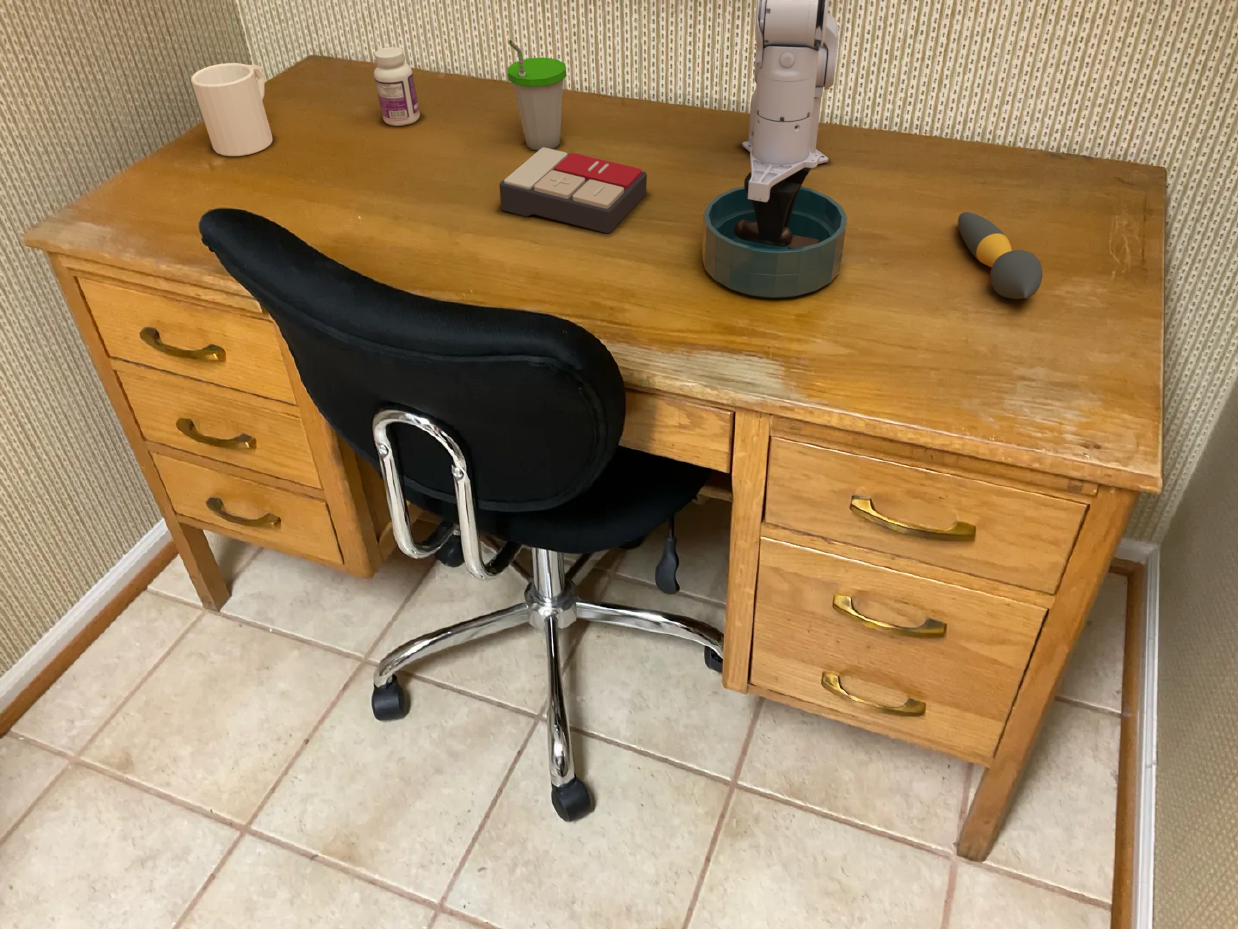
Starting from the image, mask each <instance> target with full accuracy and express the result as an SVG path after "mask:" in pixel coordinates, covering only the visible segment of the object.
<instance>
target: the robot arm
mask: <svg viewBox="0 0 1238 929" xmlns="http://www.w3.org/2000/svg"><path fill="white" fill-rule="evenodd" d="M829 4H830V0H756V9H755V23H754V36H755V46H756V49H755V57H754V72H753V73H754V74H753V79H754V81H753V82H754V83H755V84H756V87H755V89H754V91H753V93H752V95H751V99H750V112H749V126H748V140H747V141H743V142H742V145H741V146H742V147H743V148H744V149H745V150H747V151H748V152H749V165H750V172H748V174H747V175H746V176H745V178H744V181H743V186H744V188H745V190H746V192H747V193H748V199H751V201H752V204H753V207H754V210H755V215H756V220H757V226H758V231H759V235H760V238H761V239H766V240H771V241H776V242H777V241H778V240H779V239H780V237H781V234H782V232H783V228H784V227H787V226H788V223H789V221H790V218H791V215H792V211H793V208H794V205H795V201H796V198H797V195H798V193H799V190H800V188H801V187H803V183H804V182H805V179H806V178H807V177H808V175H809V173H810V172H811V170H812V169H814V168H816V167H817V166H818V165H821V164H824V163H828V162H829V157H828V156H826V155H825V153H824V154H823V152H821V151H819V150H818V149H817V142H818V133H819V124H820V115H821V106H822V97H823V95H824V90H826V91H827V90H830V88H832V87H833V86H834V82H835V75H836V66H837V59H838V58H837V56H838V49H839V48H838V47H839V30H840V29H839V28H840V27H839V25H838V21H837V20H836V18H835V17H834V16H833V15H831V14H830V13H829V7H830V6H829Z"/></svg>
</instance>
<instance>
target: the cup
mask: <svg viewBox="0 0 1238 929" xmlns="http://www.w3.org/2000/svg"><path fill="white" fill-rule="evenodd" d="M507 43H508V45H509V46H510V47H511V48H512V49H513V50H515V51H516V54H517V57H518V61H514V62H513V63H512V64H510V65H509V66H508V67H507V79H508V81H509V82H510V83H512V88H513V93H514V97H515V101H516V105H517V109H518V115H519V118H520V122H521V126H522V131H523V135H524V139H525V143H526V147H527V148H528V149H529V150H531V151H536V152H537V151H538V150H540V149H541V148H543V147H544V148H549V149H553V150H555V149H556V148H558V147H559V146H560V144H561V143H560V142H561V129H562V128H561V126H562V110H563V93H564V92H563V91H564V79H565V78H566V77H567V66H566V63H564V62H563V61H561V60H559V59H557V58H551V57H543V56H542V57H529V58H528V57H527V58H525V59H524V57H523V56H524V55H523V51H522V48H521V47H519V46H518V45H517V44H516V43H515V42H514V41H512V40H511V39H509V40H508V42H507Z"/></svg>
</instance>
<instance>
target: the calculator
mask: <svg viewBox="0 0 1238 929" xmlns="http://www.w3.org/2000/svg"><path fill="white" fill-rule="evenodd" d="M647 180H648V173H646V172H645V171H643V169H642V168H639V167H635V166H631V165H626V164H622V163H618V162H614V161H610V160H605V159H601V158H598V157H593V156H588V155H585V154H580V153H576V152H570V153H568V152H565V151H562V150H557V149H549V148H544V147H543V148H541V149H540V150H538V151H536V152H535V153H534V154H532V155H531V156H530V157H529V158H527V159H526V160H525V161H524V162H522V163H521V164H520V165H519V166H518V167H516V169H514V170H513V171H512V172H511V173H509V174H508V176H506V177H505V178H504V179H502V180H501V181H500V182H499V196H500V197H499V198H500V209H501V211H504V212H508V213H510V214H514V215H519V216H523V217H529V216H531V215H535V216H539V217H544V218H547V219H551V220H555V221H558V222H561V223H566V224H570V225H574V226H577V227H581V228H584V229H585V228H586V229H589V230H593V231H597V232H600V233H604V234H611V233H612V232H613V231H614V229H615V228H616V227H618V225H620V223H622V221H623V220H624V219H625V218H626V217H627V216H628V215H629V213H630V212H632V210H633V209H634V208H635V207H636V206H637V205H638V204H639V203H640V202H641V201H642V200H643V198H645V196H646V195H647V186H648V184H647V182H648V181H647Z"/></svg>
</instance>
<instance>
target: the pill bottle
mask: <svg viewBox="0 0 1238 929" xmlns="http://www.w3.org/2000/svg"><path fill="white" fill-rule="evenodd" d="M374 58H375V63H376V65H377V66H376V67H375V69H374V70H373V78H374V82H375V87H376V92H377V97H378V102H379V108H380V111H381V116H382V120H383V122H384V123H386V124H387V125H388V126H393V127H401V126H407V125H411V124H414V123H416V122H417V121H418V120H419V119H420V116H421V113H420V107H419V101H418V96H417V95H418V94H417V90H416V84H415V78H414V73H413V70H412V67H411V66H410V64H408V63H407V62H405V60H406V56H405V52H404V49H403V48H401V47H397V46H388V47H383V48H379V49H377V50H376V51H375V52H374Z"/></svg>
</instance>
